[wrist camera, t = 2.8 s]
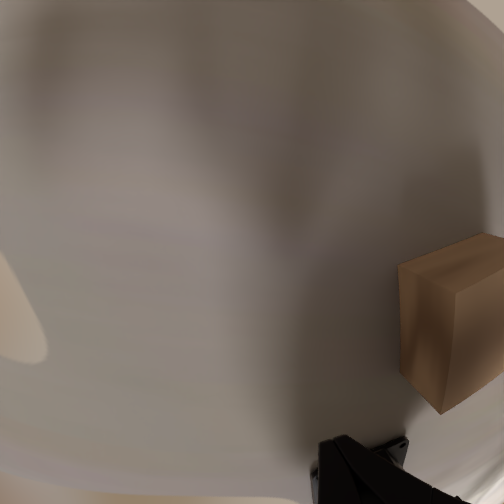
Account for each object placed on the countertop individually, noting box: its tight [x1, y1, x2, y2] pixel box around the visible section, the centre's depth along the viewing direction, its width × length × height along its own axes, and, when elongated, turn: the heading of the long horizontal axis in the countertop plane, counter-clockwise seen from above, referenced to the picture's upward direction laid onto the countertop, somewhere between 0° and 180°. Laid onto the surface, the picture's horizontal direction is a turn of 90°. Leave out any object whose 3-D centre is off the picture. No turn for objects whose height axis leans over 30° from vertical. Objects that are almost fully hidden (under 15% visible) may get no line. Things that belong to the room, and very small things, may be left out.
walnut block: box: [397, 233, 504, 415], centre depth 11 cm, size 6×6×4 cm
